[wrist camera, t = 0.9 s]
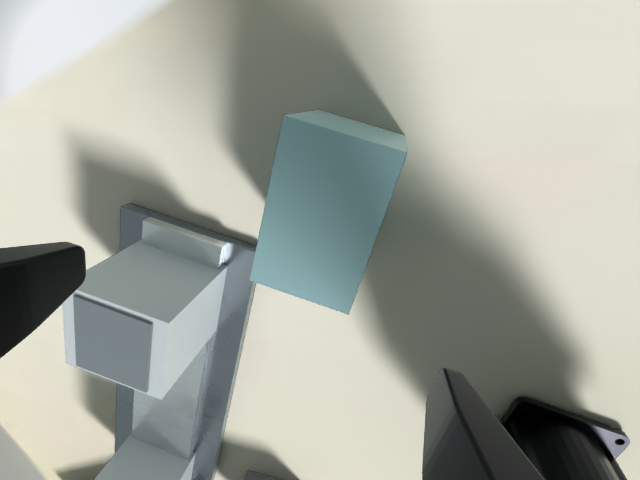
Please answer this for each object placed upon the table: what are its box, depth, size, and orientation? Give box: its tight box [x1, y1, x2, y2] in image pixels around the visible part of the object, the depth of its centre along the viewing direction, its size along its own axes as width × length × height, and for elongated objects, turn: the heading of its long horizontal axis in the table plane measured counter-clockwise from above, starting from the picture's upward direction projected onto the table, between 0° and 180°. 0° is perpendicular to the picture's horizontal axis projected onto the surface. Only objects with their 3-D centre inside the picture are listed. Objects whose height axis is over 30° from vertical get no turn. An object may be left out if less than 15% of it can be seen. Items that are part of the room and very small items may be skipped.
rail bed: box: [115, 203, 257, 480], centre depth 26 cm, size 9×26×2 cm, turn 165°
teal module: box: [250, 110, 407, 315], centre depth 16 cm, size 4×7×6 cm, turn 165°
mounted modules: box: [62, 240, 227, 480], centre depth 24 cm, size 6×23×6 cm, turn 165°
